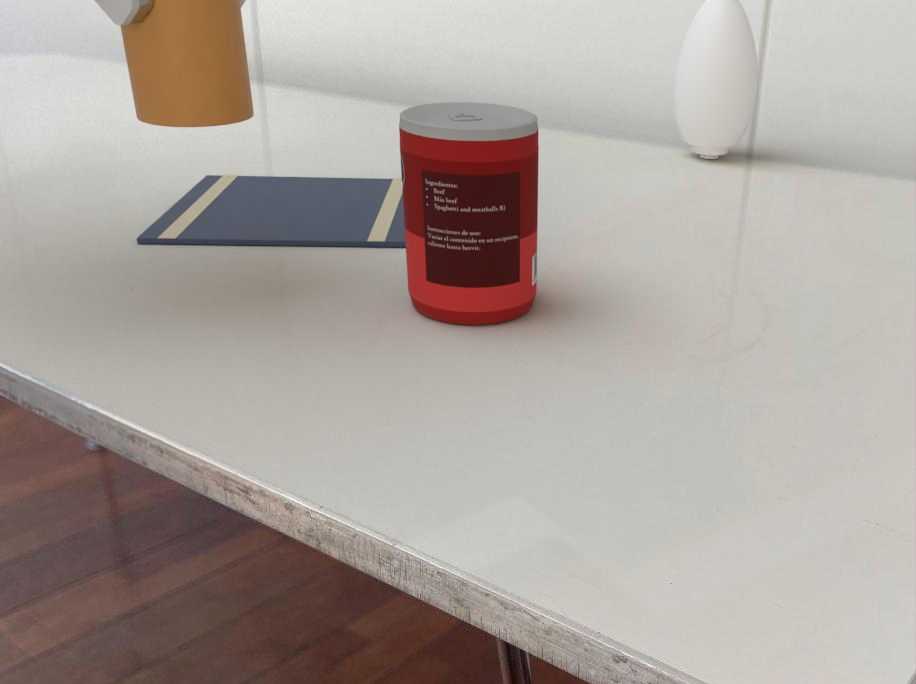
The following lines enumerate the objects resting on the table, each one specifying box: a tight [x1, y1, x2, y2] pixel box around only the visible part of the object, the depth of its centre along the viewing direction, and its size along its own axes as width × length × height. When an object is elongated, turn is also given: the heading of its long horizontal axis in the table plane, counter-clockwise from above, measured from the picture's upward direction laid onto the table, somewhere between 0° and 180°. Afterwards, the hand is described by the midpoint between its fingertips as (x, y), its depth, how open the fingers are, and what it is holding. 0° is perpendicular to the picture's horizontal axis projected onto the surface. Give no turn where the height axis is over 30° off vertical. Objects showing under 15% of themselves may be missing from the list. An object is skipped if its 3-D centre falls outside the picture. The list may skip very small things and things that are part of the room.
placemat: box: [136, 174, 406, 248], centre depth 76 cm, size 18×18×1 cm
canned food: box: [398, 101, 540, 326], centre depth 58 cm, size 8×8×11 cm
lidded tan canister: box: [119, 0, 255, 128], centre depth 52 cm, size 6×6×10 cm
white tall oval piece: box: [672, 0, 759, 160], centre depth 95 cm, size 8×8×18 cm
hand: (190, 9), depth 52 cm, fingers closed on lidded tan canister, 6 cm apart
